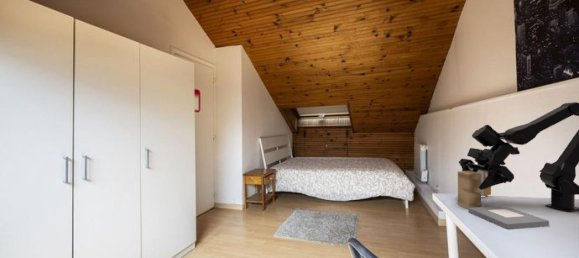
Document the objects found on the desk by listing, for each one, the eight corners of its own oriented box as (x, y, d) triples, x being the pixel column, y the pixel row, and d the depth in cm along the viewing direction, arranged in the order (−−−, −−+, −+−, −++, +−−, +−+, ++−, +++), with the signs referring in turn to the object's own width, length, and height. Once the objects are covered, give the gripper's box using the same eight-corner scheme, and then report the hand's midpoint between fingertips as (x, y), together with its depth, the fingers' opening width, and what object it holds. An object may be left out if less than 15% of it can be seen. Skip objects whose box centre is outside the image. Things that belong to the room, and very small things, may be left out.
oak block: (469, 204, 95) (469, 170, 95) (481, 208, 90) (481, 173, 90) (457, 205, 95) (457, 171, 94) (468, 209, 90) (468, 174, 89)
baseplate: (504, 209, 89) (504, 204, 89) (549, 225, 75) (549, 220, 75) (468, 212, 87) (468, 207, 87) (507, 229, 73) (507, 223, 73)
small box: (484, 198, 102) (484, 166, 101) (466, 194, 107) (466, 164, 107) (491, 194, 106) (491, 164, 106) (474, 191, 111) (474, 162, 111)
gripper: (462, 138, 102) (437, 166, 101) (506, 142, 83) (476, 176, 82) (480, 157, 103) (455, 184, 102) (527, 165, 84) (497, 198, 83)
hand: (469, 185), depth 92 cm, fingers open, 9 cm apart
